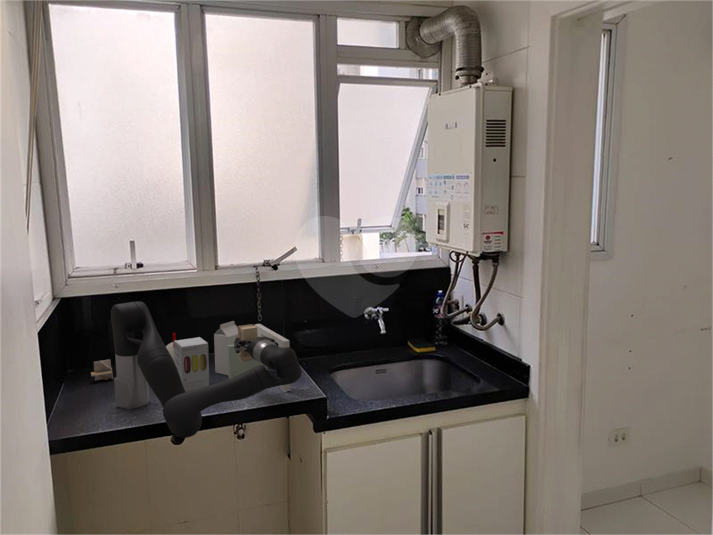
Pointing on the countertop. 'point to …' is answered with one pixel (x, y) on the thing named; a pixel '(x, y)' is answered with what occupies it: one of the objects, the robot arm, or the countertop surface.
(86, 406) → the countertop surface
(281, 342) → the door frame
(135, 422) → the countertop surface
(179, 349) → the supplement box
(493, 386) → the countertop surface
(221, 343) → the milk carton
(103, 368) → the architectural model
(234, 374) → the door
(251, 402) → the countertop surface
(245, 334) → the block
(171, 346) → the kitchen timer
